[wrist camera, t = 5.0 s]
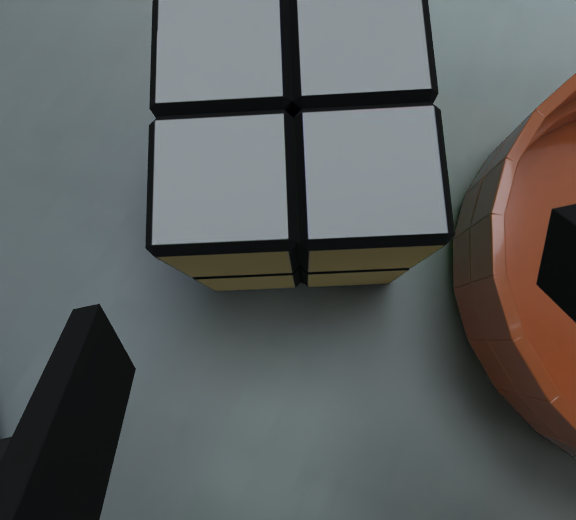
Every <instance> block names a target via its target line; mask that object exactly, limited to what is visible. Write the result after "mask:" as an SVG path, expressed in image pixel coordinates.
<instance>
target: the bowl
mask: <svg viewBox="0 0 576 520" xmlns="http://www.w3.org/2000/svg"><path fill="white" fill-rule="evenodd" d="M572 204H576V74H574V75H573V76H572V77H571V78H569V79H568V80H567V81H566V82H565V83H564V84H563V85H562V86H561V87H559V88H558V89H557V90H556V91H555V92H554V93H553V94H552V95H550V96H549V97H548V98H547V99H546V100H545V101H544V102H543V103H542V104H540V105H539V106H538V107H537V108H536V109H535V110H534V111H533V112H532V113H531V114H530V115H529V116H528V117H527V118H526V119H525V120H524V121H523V122H522V123H521V124H520V125H519V126H518V127H517V128H516V129H515V130H514V131H513V132H512V133H511V134H510V135H509V136H508V137H507V138H506V139H505V140H504V141H503V142H502V143H501V144H500V145H499V146H498V147H497V148H496V149H495V150H494V151H493V152H492V153H491V154H490V155H489V156H488V158H487V160H486V161H485V163H484V164H483V166H482V168H481V169H480V171H479V172H478V174H477V176H476V177H475V179H474V181H473V182H472V184H471V185H470V187H469V189H468V190H467V192H466V195H465V197H464V201H463V204H462V208H461V212H460V215H459V219H458V223H457V226H456V230H455V235H454V237H453V239H454V240H453V287H454V293H455V297H456V300H457V304H458V308H459V311H460V315H461V318H462V322H463V325H464V329H465V332H466V336H467V339H468V341H469V343H470V345H471V347H472V348H473V350H474V352H475V353H476V355H477V357H478V359H479V360H480V362H481V364H482V366H483V367H484V369H485V371H486V373H487V374H488V376H489V378H490V380H491V381H492V383H493V385H494V387H495V388H497V391H498V392H499V393H500V394H501V395H502V396H503V397H504V398H505V399H506V400H507V401H508V402H509V403H510V404H511V405H512V407H513V408H514V409H515V410H516V411H517V412H518V413H519V414H520V415H521V416H522V417H523V418H524V419H525V420H526V421H527V422H528V423H529V424H530V426H531V427H532V428H533V429H534V430H535V431H537V433H539V434H540V435H542V436H543V437H545V438H546V439H548V440H550V441H551V442H553V443H554V444H556V445H557V446H559V447H560V448H562V449H563V450H565V451H566V452H568V453H570V454H571V455H573V456H574V457H576V323H575V322H574V321H573V320H572V319H571V318H570V317H569V316H568V315H567V314H566V313H565V312H564V311H563V310H562V309H561V308H560V307H559V306H558V305H557V304H556V303H555V302H554V301H553V300H552V299H551V298H550V297H549V296H548V295H546V294H545V293H544V292H543V291H542V290H541V289H540V288H539V287H538V286H537V285H536V282H537V277H538V273H539V268H540V263H541V258H542V253H543V249H544V244H545V239H546V234H547V229H548V224H549V220H550V215H551V210H552V209H553V208H558V207H562V206H567V205H572Z"/></svg>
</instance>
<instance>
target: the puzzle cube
mask: <svg viewBox="0 0 576 520" xmlns="http://www.w3.org/2000/svg"><path fill="white" fill-rule="evenodd" d="M437 95H438V85H437V76H436V67H435V58H434V50H433V41H432V32H431V23H430V14H429V6H428V0H153V6H152V41H151V76H150V110H151V111H152V113H153V114H154V116H155V117H156V119H155V120H154V121H153V122H152V123H151V124H150V125H149V146H148V180H147V215H146V249H147V250H148V251H149V252H150V253H151V254H152V255H153V256H154V257H155V258H157V259H159V260H161V261H163V262H164V263H166V264H168V265H170V266H172V267H173V268H175V269H177V270H179V271H181V272H182V273H184V274H186V275H188V276H190V277H192V278H193V279H194V280H196V281H198V282H200V283H201V284H203V285H205V286H207V287H209V288H211V289H213V290H214V291H230V290H252V289H275V288H296V287H297V285H298V284H299V283H300V282H301V280H302V282H303V283H304V284H305V285H306V286H307V287H322V286H345V285H367V284H389V283H390V282H392V281H393V280H395V279H396V278H398V277H399V276H401V275H402V274H403V273H405V272H406V271H408V270H409V269H410V268H412V267H413V266H415V265H416V264H418V263H419V262H421V261H422V260H424V259H425V258H427V257H429V256H430V255H432V254H433V253H435V252H436V251H438V250H439V249H441V248H442V247H444V246H445V245H446V244H447V243H448V242H449V241H450V240H451V239H452V238H453V236H454V235H455V232H454V223H453V214H452V205H451V197H450V188H449V179H448V170H447V161H446V153H445V144H444V135H443V126H442V117H441V110H440V109H439V108H437V107H436V106H435V105H434V104H433V102H434V101H435V99H436V97H437ZM300 267H301V268H300Z"/></svg>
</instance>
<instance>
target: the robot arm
mask: <svg viewBox="0 0 576 520" xmlns="http://www.w3.org/2000/svg"><path fill="white" fill-rule="evenodd" d="M536 285H537V286H538V287H539V288H540V289H541V290H542V291H543V292H544V293H545V294H546V295H548V296H549V297H550V298H551V299H552V300H553V301H554V302H555V303H556V304H557V305H558V306H559V307H560V308H561V309H562V310H563V311H564V312H565V313H566V314H567V315H568V316H569V317H570V318H571V319H572V320H573V321H574V322H575V323H576V204H572V205H567V206H562V207H558V208H553V209H552V210H551V215H550V220H549V224H548V229H547V234H546V239H545V244H544V249H543V253H542V258H541V263H540V268H539V273H538V277H537V282H536ZM135 370H136V368H135V367H134V365H133V363H132V361H131V359H130V358H129V356H128V354H127V352H126V350H125V349H124V347H123V345H122V343H121V341H120V340H119V338H118V336H117V334H116V332H115V331H114V329H113V327H112V325H111V324H110V322H109V320H108V318H107V316H106V315H105V313H104V311H103V309H102V307H101V306H100V304H96V305H92V306H87V307H82V308H77V309H73V311H72V313H71V315H70V317H69V319H68V321H67V323H66V325H65V327H64V329H63V331H62V334H61V336H60V338H59V340H58V342H57V344H56V346H55V348H54V350H53V352H52V354H51V357H50V359H49V361H48V363H47V365H46V367H45V369H44V371H43V373H42V375H41V377H40V380H39V382H38V384H37V386H36V388H35V390H34V392H33V394H32V396H31V398H30V400H29V403H28V405H27V407H26V409H25V411H24V413H23V415H22V417H21V419H20V421H19V423H18V426H17V428H16V430H15V432H14V434H13V436H12V437H10V438H5V439H0V520H99V519H100V515H101V511H102V506H103V502H104V498H105V494H106V490H107V486H108V482H109V477H110V473H111V469H112V465H113V461H114V457H115V453H116V448H117V444H118V440H119V436H120V432H121V428H122V424H123V419H124V415H125V411H126V407H127V403H128V399H129V395H130V390H131V386H132V382H133V378H134V374H135Z"/></svg>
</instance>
